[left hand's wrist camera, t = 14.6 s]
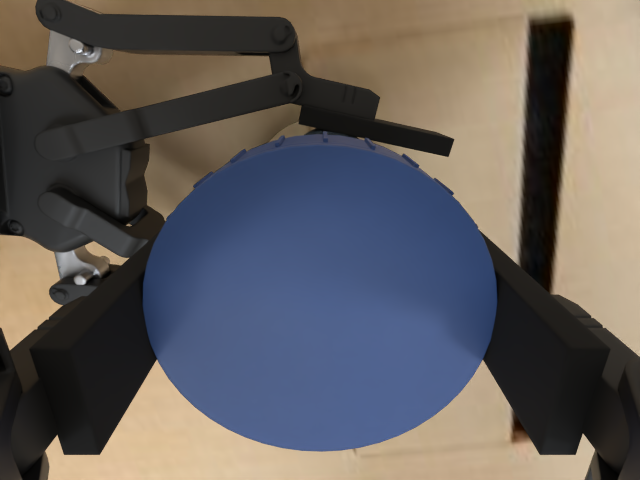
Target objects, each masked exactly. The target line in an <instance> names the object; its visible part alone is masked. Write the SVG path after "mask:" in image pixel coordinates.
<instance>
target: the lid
mask: <svg viewBox="0 0 640 480" xmlns="http://www.w3.org/2000/svg"><path fill="white" fill-rule="evenodd" d="M193 187H194V188H195V189H194V190H193V191H192V192H191V193H190V194H189V195H188V196H187V197H186V198H185V199H184V200H183V201H182V202H181V203H180V204H179V205H178V206H177V207H176V209H175V210H174V211H173V212H172V213H171V214H170V215H169V216H168V217H167V221H166V222H165V223H164V225H163V227H162V229H161V231H160V233H159V235H158V236H157V238H156V240H155V242H154V244H153V247H152V250H151V253H150V256H149V259H148V261H147V265H146V270H145V276H144V282H143V312H144V317H145V323H146V328H147V333H148V337H149V341H150V344H151V346H152V349H153V351H154V353H155V355H156V358H157V360H158V362H159V364H160V365H161V367H162V369H163V370H164V372H165V373H166V375H167V377H168V378H169V380H170V381H171V382H172V383H173V384H174V386H175V387H176V388H177V389H178V391H179V392H180V393H181V394H182V395H183V396H184V397H185V398H186V399H187V400H188V401H189V402H190V403H191V404H192V405H193V406H194V407H195V408H197V409H198V410H199V411H201V412H202V413H203V414H205V415H206V416H207V417H209V418H210V419H212V420H213V421H215V422H217V423H218V424H220V425H222V426H223V427H225V428H227V429H228V430H231V431H233V432H235V433H237V434H239V435H241V436H244V437H246V438H249V439H252V440H255V441H258V442H261V443H263V444H268V445H272V446H276V447H280V448H286V449H293V450H301V451H339V450H347V449H353V448H360V447H364V446H368V445H372V444H376V443H380V442H383V441H385V440H388V439H391V438H393V437H396V436H399V435H401V434H403V433H405V432H407V431H409V430H411V429H413V428H415V427H417V426H419V425H420V424H422V423H423V422H425V421H427V420H428V419H430V418H431V417H433V416H434V415H435V414H437V413H438V412H439V411H440V410H442V409H443V408H444V407H445V406H447V405H448V404H449V403H450V402H451V401H452V400H453V399H454V398H455V397H456V396H457V395H458V394H459V393H460V392H461V391H462V389H463V388H464V387H465V386H466V384H467V383H468V382H469V380H470V379H471V378H472V377H473V375H474V373H475V372H476V370H477V368H478V367H479V365H480V363H481V361H482V360H483V358H484V355H485V353H486V350H487V348H488V346H489V343H490V341H491V336H492V332H493V327H494V322H495V316H496V310H497V283H496V277H495V272H494V267H493V262H492V259H491V256H490V253H489V251H488V248H487V245H486V243H485V240H484V238H483V237H482V235H481V233H480V231H479V230H478V226H477V224H475V223H474V221H473V219H472V218H471V217H470V216H469V214H468V213H467V212H466V211H465V209H464V208H463V207H462V206H461V204H460V203H459V202H458V201H457V200H456V199H455V198H454V197H453V196H452V195H453V194H454V193H453V192H452V191H451V190H450V189H449V188H447V187H446V186H445V185H444V184H442V183H441V182H440V181H438V180H437V179H436V178H434V179H432V178H431V177H430V176H429V175H428V174H426V173H425V172H424V171H423V170H421V169H420V168H419V165H418V164H417V163H416V162H414V161H413V160H412V159H411V158H409V157H408V156H407V155H405V154H403V155H402V156H401V155H399V154H397V153H395V152H393V151H391V150H389V149H387V148H385V147H383V146H380V145H377V144H374V143H372V142H371V140H370V139H369V138H365V140H361V139H356V138H351V137H346V136H341V135H327V132H325V131H323V134H314V135H302V136H293V137H289V138H285V135H283V136H280V138H279V139H278V140H275V141H271V142H269V143H266V144H263V145H261V146H258V147H255V148H252V149H251V150H249V151H247V152H246V150H245V149H244V150H242V151H241V152H239V153H238V154H237V155H236V156H234V157H233V158H232V159H231V160H230V162H228V163H227V164H225V165H224V166H223V167H221V168H220V169H219V170H217V171H216V172H215V173H213V172H212V171H211V172H210V173H209V174H208V175H206V176H205V177H204V178H202V179H201V180H200V181H199V182H197V183H196V184H195V185H194V186H193Z"/></svg>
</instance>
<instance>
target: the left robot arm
mask: <svg viewBox="0 0 640 480" xmlns="http://www.w3.org/2000/svg"><path fill="white" fill-rule="evenodd" d="M160 231H161V230H160ZM160 231H159V232H158V233H157V234H156V235H155V236H154V237H152V238H151V239H150V240H149V241H148V242H147V243H146V244H145V245H144V246H142V247H141V248H140V249H139V250H138V251H137V252H136V253H135V254H134V255H132V256H131V257H130V258H129V259H128V260H127V261H126V262H125V263H124V264H123V265H121V266H120V267H119V268H118V269H117V270H116V271H115V272H114V273H113V274H111V275H110V276H109V277H108V278H107V279H106V280H105V281H104V282H103V283H101V284H100V285H99V286H98V287H97V288H96V289H95V290H94V291H93V292H91V293H90V294H89V295H88V296H81V297H79V298H77V299H75V300H73V301H71V302H69V303H67V304H65V305H63V306H62V307H61V308H59V309H58V310H57V311H56V312H55V313H54V314H52V315H51V316H50V317H49V320H45V321H44V322H43V323H42V324H41V325H40V326H38V329H37V330H34V331H33V332H31V333H30V334H29V335H28V336H27V337H25V338H24V339H23V340H22V341H21V342H20V343H18V344H17V345H16V346H15V347H14V348H13V349H11V350H10V351H9V348H8V345H7V342H6V340H5V337H4V334H3V331H2V328H0V480H48V473H49V462H48V458H47V455H46V452H45V450H46V449H47V447H48V446H49V445H50V443H51V442H52V441H53V439H54V438H55V437H56V436H57V435H58V438H59V441H60V444H61V447H62V450H63V453H64V455H100V453H101V452H102V450H103V448H104V447H105V445H106V443H107V442H108V440H109V438H110V437H111V435H112V433H113V432H114V430H115V428H116V427H117V425H118V423H119V422H120V420H121V418H122V417H123V415H124V413H125V412H126V410H127V408H128V407H129V405H130V403H131V402H132V400H133V398H134V397H135V395H136V393H137V392H138V390H139V388H140V387H141V385H142V383H143V382H144V380H145V378H146V377H147V375H148V373H149V371H150V370H151V368H152V366H153V365H154V363H155V361H156V360H157V358H156V355H155V353H154V351H153V349H152V346H151V344H150V341H149V337H148V333H147V328H146V323H145V317H144V312H143V282H144V276H145V270H146V265H147V261H148V259H149V256H150V253H151V250H152V247H153V244H154V242H155V240H156V238H157V236H158V235H159V233H160ZM479 231H480V230H479ZM480 233H481V235H482V237H483V238H484V240H485V243H486V245H487V248H488V251H489V253H490V256H491V259H492V262H493V267H494V272H495V277H496V283H497V310H496V316H495V322H494V327H493V332H492V336H491V341H490V343H489V346H488V348H487V350H486V353H485V355H484V358H483V360H484V362H485V364H486V365H487V367H488V369H489V370H490V372H491V374H492V375H493V377H494V379H495V380H496V382H497V384H498V385H499V387H500V389H501V390H502V392H503V394H504V395H505V397H506V399H507V400H508V402H509V404H510V405H511V407H512V409H513V410H514V412H515V414H516V415H517V417H518V419H519V420H520V422H521V424H522V425H523V427H524V429H525V430H526V432H527V434H528V435H529V437H530V439H531V440H532V442H533V444H534V446H535V447H536V449H537V451H538V452H539V454H540V455H576V452H577V449H578V446H579V443H580V440H581V437H582V434H584V435H585V436H586V438H587V439H588V440H589V442H590V443H591V444H592V446H593V447H594V448H595V452H594V455H593V458H592V460H591V463H590V466H589V469H588V472H587V475H586V477H585V480H640V357H639V356H638V355H637V354H635V353H634V352H633V351H632V350H631V349H630V348H628V347H627V346H626V345H625V344H624V343H622V342H621V341H620V340H619V339H618V338H617V337H615V336H614V335H613V334H612V333H611V332H609V331H608V330H607V329H606V328H603V327H602V325H601V324H600V323H599V322H598V321H596V320H595V319H594V318H591V315H589V314H588V313H587V312H586V311H585V310H583V309H582V308H581V307H580V306H579V305H578V304H576V303H574V302H572V301H570V300H568V299H566V298H564V297H562V296H560V295H550V294H549V293H548V292H547V291H546V290H545V289H544V288H543V287H542V286H541V285H539V284H538V283H537V282H536V281H535V280H534V279H533V278H532V277H531V276H529V275H528V274H527V273H526V272H525V271H524V270H523V269H522V268H521V267H519V266H518V265H517V264H516V263H515V262H514V261H513V260H512V259H511V258H509V257H508V256H507V255H506V254H505V253H504V252H503V251H502V250H501V249H499V248H498V247H497V246H496V245H495V244H494V243H493V242H492V241H491V240H489V239H488V238H487V237H486V236H485V235H484V234H483V233H482V232H481V231H480Z"/></svg>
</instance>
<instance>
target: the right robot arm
mask: <svg viewBox="0 0 640 480" xmlns="http://www.w3.org/2000/svg"><path fill="white" fill-rule="evenodd" d="M35 8H36V15H37V17H38V19H39V21H40V22H41V23H42V25H43V26H45V27H46V28H48V29H49V30H50V37H49V46H48V55H47V64H46V66H39V67H36V68H34V69H31V70H28V71H23V70H18V69H14V68H9V67H4V66H0V235H13V236H23V237H26V238H29V239H31V240H33V241H35V242H37V243H38V244H40V245H41V246H43V247H44V248H46V249H48V250H50V251H53V252H54V253H55V257H56V262H57V267H58V271H59V276H60V280H59V281H58V282H57V283H55V284H54V285H53V286H51V288H50V290H49V294H50V297H51V298H52V300H53V301H54V302H56V303H58V304H61V305H65V304H67V303H69V302H71V301H73V300H75V299H77V298H79V297H81V296H88V295H89V294H90V293H91V292H93V291H94V290H95V289H96V288H97V287H98V286H99V285H100V284H101V283H103V282H104V281H105V280H106V279H107V278H108V277H109V276H110V275H111V274H113V273H114V272H115V271H116V270H117V269H118V268H119V267H120V265H113V264H110V260H109V258H108V257H106V256H101V257H98V256H95V255H92V254H91V253H89V252H88V251H87V249H86V248H85V245H86V244H88V243H90V242H93V241H95V242H97V243H98V244H100V245H102V246H103V247H105V248H107V249H108V250H110V251H112V252H113V253H115V254H117V255H119V256H121V257H125V258H130V257H131V256H132V255H134V254H135V253H136V252H137V251H138V250H139V249H140V248H141V247H142V246H144V245H145V244H146V243H147V242H148V241H149V240H150V239H151V238H152V237H154V236H155V235H156V234H157V233H158V232H159V231H160V230H161V229H162V227H163V225H164V223H165V221H164V217H163V216H162V215H161V214H160V213H159V212H157V211H155V210H154V209H152V208H151V207H149V206H148V205H147V187H146V182H145V178H144V173H145V170H146V167H147V164H148V161H149V149H150V144H145V141H144V139H146V138H150V137H154V136H158V135H162V134H166V133H170V132H174V131H178V130H182V129H186V128H190V127H194V126H199V125H203V124H207V123H211V122H215V121H219V120H223V119H227V118H231V117H235V116H239V115H244V114H248V113H252V112H256V111H260V110H264V109H268V108H272V107H276V106H280V105H284V104H288V103H292V104H297V105H301V106H302V107H301V112H300V118H299V123H298V124H300V125H304V126H309V127H313V128H318V129H323V130H327V131H332V132H336V133H342V134H346V135H350V136H355V137H359V138H364V139H365V138H369V139H370V140H373V141H378V142H382V143H387V144H391V145H396V146H401V147H405V148H410V149H414V150H419V151H424V152H428V153H433V154H437V155H442V156H446V157H449V154H450V151H451V148H452V145H453V142H454V139H452V138H450V137H447V136H445V135H442V134H440V133H437V132H433V131H428V130H424V129H419V128H415V127H411V126H406V125H402V124H397V123H393V122H388V121H384V120H379V119H375V115H376V111H377V107H378V103H379V99H380V97H379V96H378V95H376V94H375V93H373V92H372V91H371V90H369V89H364V88H360V87H356V86H351V85H347V84H343V83H338V82H334V81H329V80H325V79H321V78H316V77H313V76H310V75H309V74H308V73H306V71H305V70H304V68H303V66H302V63H301V57H300V50H299V43H298V36H297V34H296V31H295V29H294V27H293V26H292V24H291V22H289V21H288V20H287V19H285V18H281V17H246V16H186V15H125V14H103V13H100V12H98V11H95V10H93V9H90V8H88V7H85V6H82V5H79V4H76V3H73V2H70V1H67V0H37V3H36V6H35ZM113 50H117V51H122V52H128V53H135V54H162V55H224V56H269V58H270V64H271V70H272V75H268V76H265V77H261V78H257V79H253V80H249V81H245V82H241V83H237V84H233V85H229V86H225V87H221V88H217V89H213V90H209V91H205V92H201V93H197V94H193V95H189V96H185V97H181V98H177V99H173V100H169V101H165V102H161V103H157V104H153V105H149V106H145V107H141V108H137V109H132V110H127V111H123V112H121V111H120V110H119V109H118V108H117V107H116V106H115V105H114V104H113V103H112V102H111V101H110V100H109V99H108V98H107V97H106V96H105V95H103V94H102V93H101V92H100V91H99V90H98V89H97V88H96V87H95V86H94V85H93V84H92V83H91V82H90V81H89V80H88V79H87V78H86V77H85V76H84V75H83V72H84V69H85V68H86V67H87V66H88V65H91V64H101V65H102V64H106V63H107V62H109V61H110V59H111V57H112V55H113ZM128 223H129V224H131V225H132V226H126V225H127V224H128Z"/></svg>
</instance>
